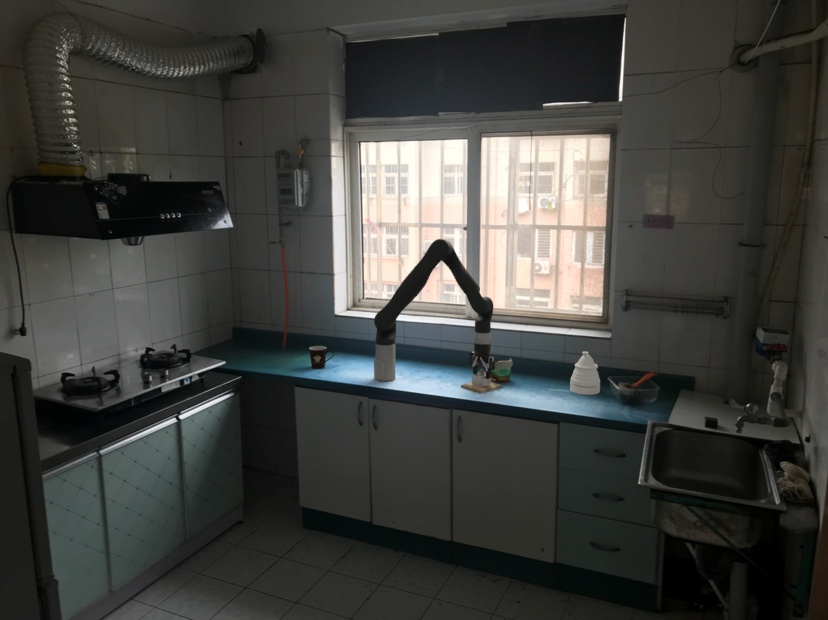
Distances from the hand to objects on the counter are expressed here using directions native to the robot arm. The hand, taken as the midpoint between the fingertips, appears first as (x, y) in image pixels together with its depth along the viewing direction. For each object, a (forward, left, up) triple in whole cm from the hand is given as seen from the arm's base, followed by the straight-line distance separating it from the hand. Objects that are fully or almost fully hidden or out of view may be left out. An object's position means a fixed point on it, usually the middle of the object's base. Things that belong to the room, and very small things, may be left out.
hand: (481, 376), depth 292 cm
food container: (+14, 0, -5) cm, 15 cm away
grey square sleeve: (0, 0, -4) cm, 4 cm away
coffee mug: (-40, +74, -5) cm, 84 cm away
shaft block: (0, 0, -5) cm, 5 cm away
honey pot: (+33, -32, -5) cm, 46 cm away
